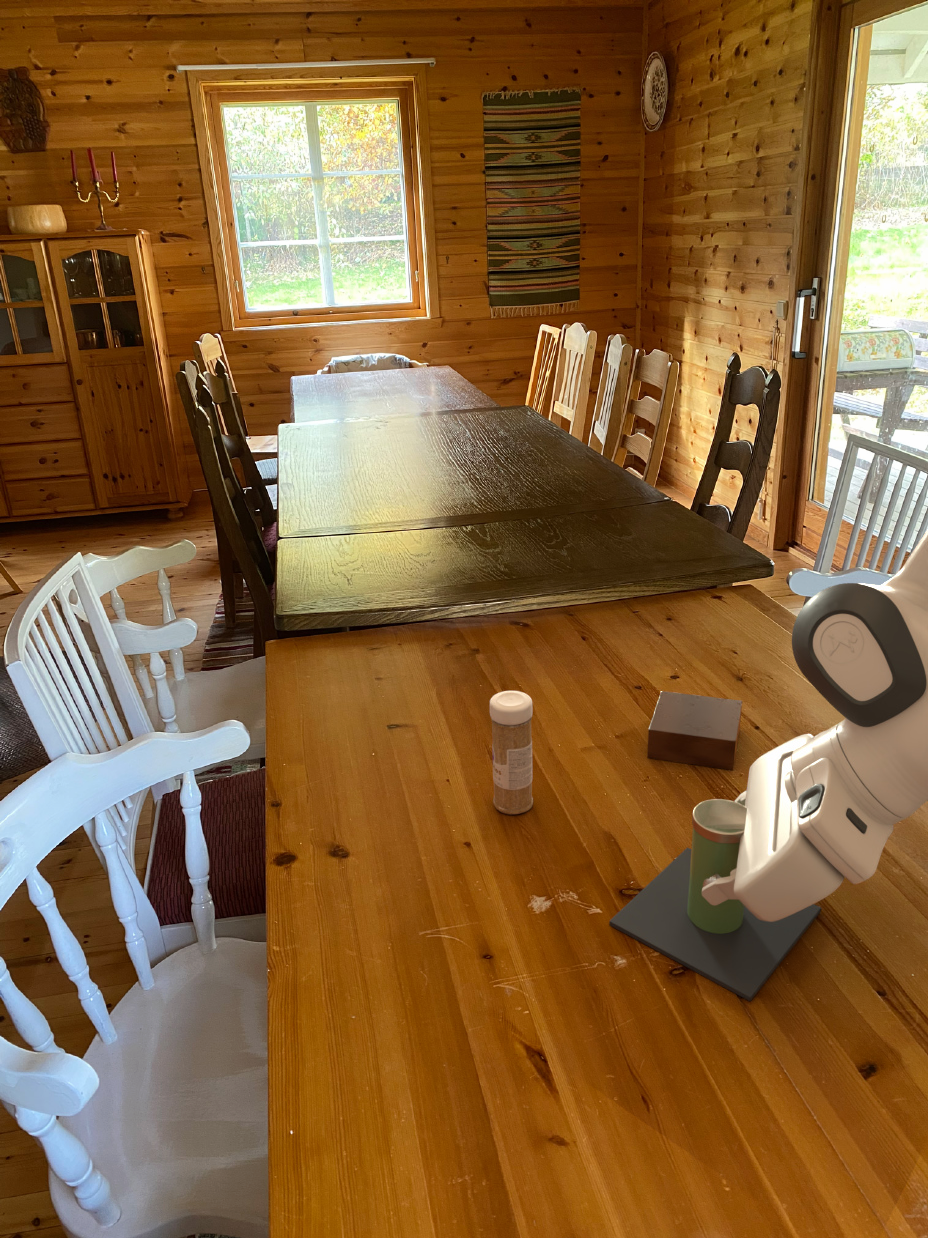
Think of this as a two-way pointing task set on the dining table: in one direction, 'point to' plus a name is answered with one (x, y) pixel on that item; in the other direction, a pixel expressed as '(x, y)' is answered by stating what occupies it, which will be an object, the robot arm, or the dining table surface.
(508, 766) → the sprinkles bottle
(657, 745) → the walnut block
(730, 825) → the green canister
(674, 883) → the rubber mat
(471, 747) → the dining table surface
